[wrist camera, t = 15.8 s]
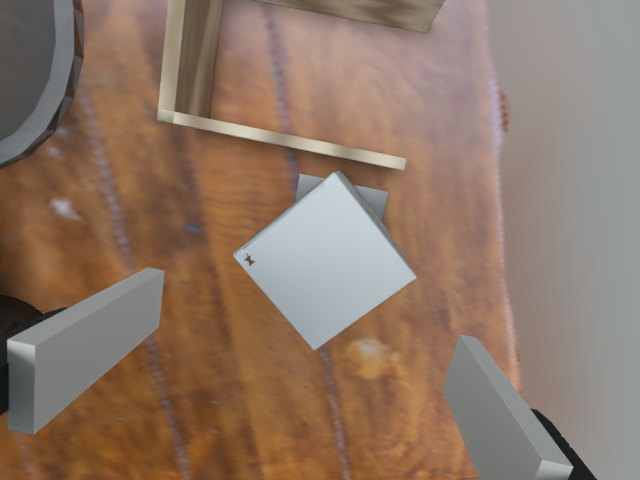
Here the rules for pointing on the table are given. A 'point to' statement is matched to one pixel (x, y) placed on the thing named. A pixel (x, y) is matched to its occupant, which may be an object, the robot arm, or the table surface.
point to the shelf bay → (200, 57)
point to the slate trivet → (370, 195)
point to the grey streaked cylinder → (37, 71)
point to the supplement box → (326, 260)
